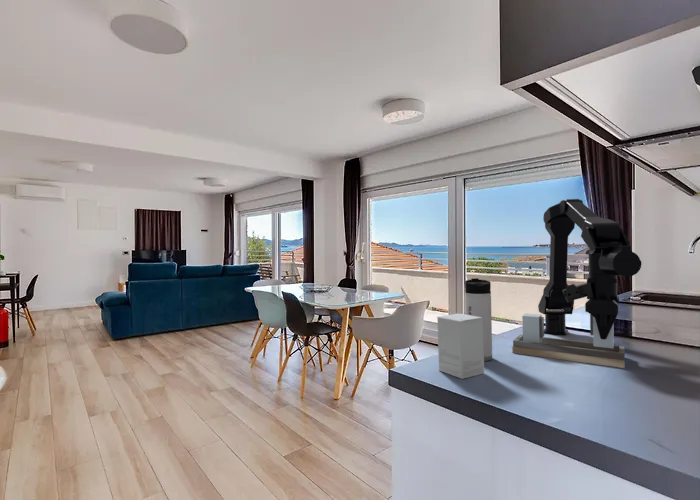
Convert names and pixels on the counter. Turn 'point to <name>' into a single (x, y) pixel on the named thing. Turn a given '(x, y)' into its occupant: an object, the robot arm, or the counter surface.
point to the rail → (571, 351)
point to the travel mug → (480, 309)
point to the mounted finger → (533, 328)
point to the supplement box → (461, 345)
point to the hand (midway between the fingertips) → (603, 337)
